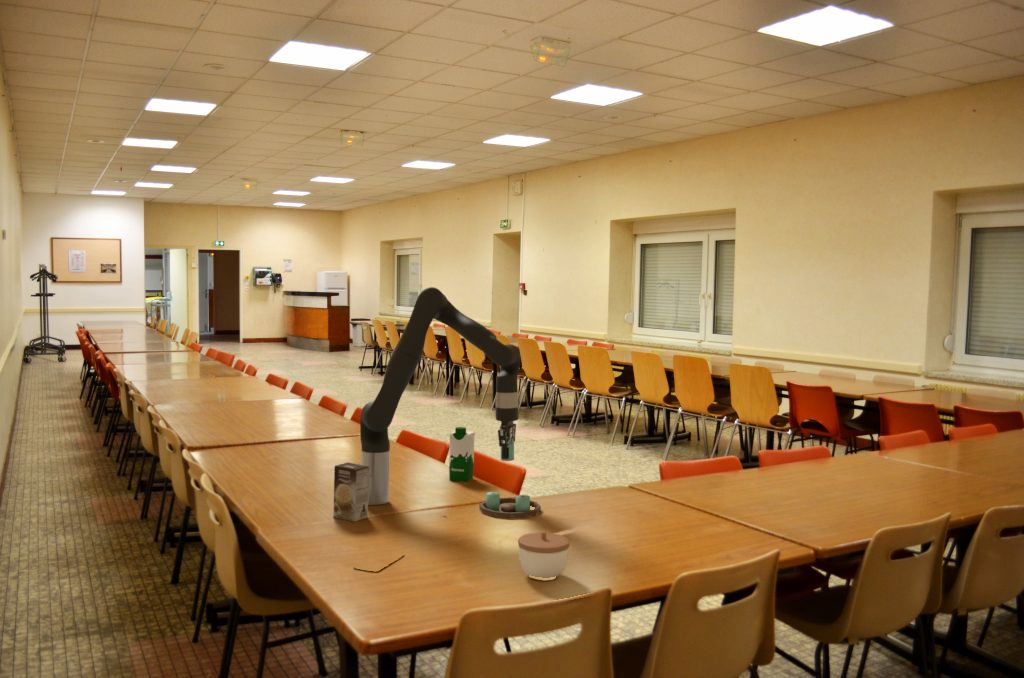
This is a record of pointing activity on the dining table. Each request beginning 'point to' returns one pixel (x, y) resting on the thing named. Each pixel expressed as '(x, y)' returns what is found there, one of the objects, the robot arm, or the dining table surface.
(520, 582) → the dining table surface
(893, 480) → the dining table surface
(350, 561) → the dining table surface
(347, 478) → the coffee box
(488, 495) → the bead
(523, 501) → the bead
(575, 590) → the dining table surface
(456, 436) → the milk carton
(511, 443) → the bead
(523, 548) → the lidded bowl
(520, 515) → the ring tray
